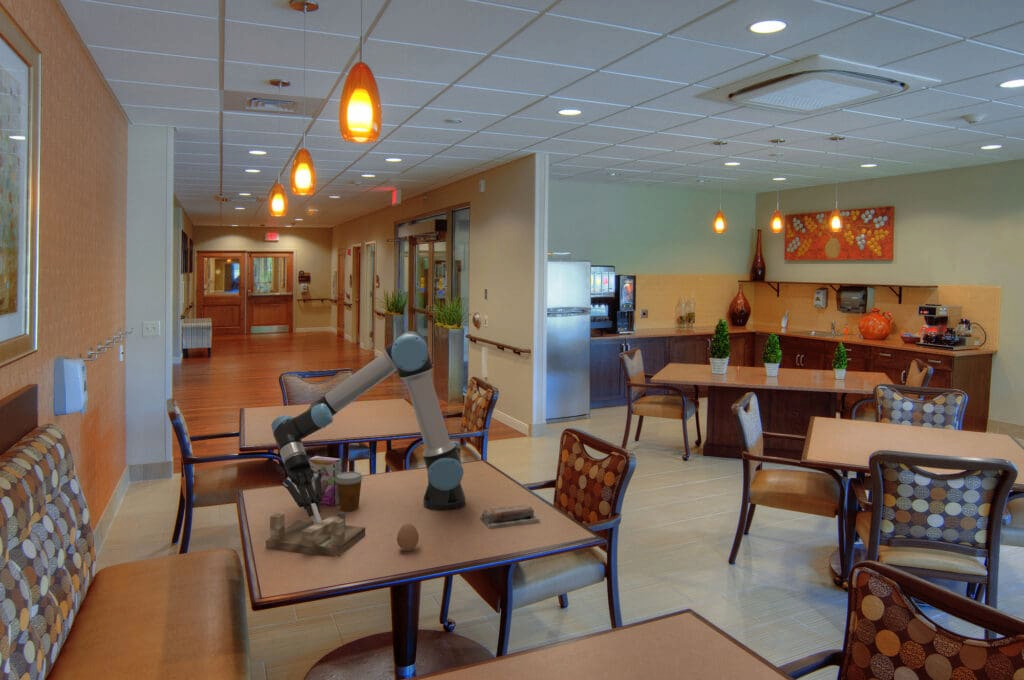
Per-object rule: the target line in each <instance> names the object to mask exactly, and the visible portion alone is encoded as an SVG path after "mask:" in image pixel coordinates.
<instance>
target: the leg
mask: <svg viewBox="0 0 1024 680" xmlns="http://www.w3.org/2000/svg"><path fill="white" fill-rule="evenodd" d="M334 519H341V517H337V516H335V515H331V516H329V517H327V518H324V519H323V520H322V521H321V522H319V523H317V524H315V525H313V526H311V527H308V528H306V529H304V530H302V546H307V547H313V546H315V545H317V544H319V543H321V542H323V541H325V540H327V539H328V538H330V537H331V525H330V522H331V521H333V520H334Z"/></svg>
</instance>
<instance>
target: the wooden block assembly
mask: <svg viewBox="0 0 1024 680" xmlns="http://www.w3.org/2000/svg"><path fill="white" fill-rule="evenodd" d="M336 517H341V519H334V520H333V521H331V522H330V525H331V537H330V538H328V539H327V540H325V541H323V542H321V543H319V544H317V545H315V546H313V547H307V546H302V530H304V529H306V528H308V527H311V526H313V525H314V522H313V521H309V520H308V521H307V520H297V521H295V522H293V523H292V524H290V525H288V526H287V527H286V526H285V513H280V512H278V513H277V512H275V513H273V514H272V515H270V516H269V529H270V531H269V533H270V534H269V535H270V537H269V538H268V539H266V540H265V549H267V550H275V551H276V550H277V551H282V550H284V552H291V551H292V552H293V553H302V554H309V555H317V556H326V555H328V556H327V557H334V556H338V557H340V556H341V555H342V554H343V553H345V552H346V551H347V550H349V549H350V548H351V547H352V546H353V545H354V544H356V543H357V542H358V541H360V540H361V539H362V538H364V537H365V536H366V527H365V526H354V525H346V511H338V512H337V513H336ZM349 547H350V548H349ZM345 550H346V551H345ZM344 551H345V552H344ZM292 552H291V553H292ZM341 553H342V554H341ZM340 554H341V555H340ZM339 555H340V556H339Z"/></svg>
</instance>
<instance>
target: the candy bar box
mask: <svg viewBox="0 0 1024 680" xmlns="http://www.w3.org/2000/svg"><path fill="white" fill-rule="evenodd" d="M308 460H309V463H310V466H311V469H312V470H313V471H314V473H317V474H319V473H322V477H321V487H322V497H323V499H322V501H321V502H320V503H319V504H318V505H324V506H325V505H326V506H332V507H336V506H338V505H340V503H339V496H338V489H337V483H336V481H335V478H336V476H337V474H339V473H343V472H342V459H341V458H338V457H337V458H336V457H330V456H329V457H327V456H319V455H314V456H312V457H310V458H308ZM311 481H312V486H313V488H314V491H315V481H314V477H312V480H311ZM315 494H316V491H315ZM309 499H310V498H309ZM310 502H311V501H310ZM337 504H338V505H337ZM335 505H336V506H335Z"/></svg>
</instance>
